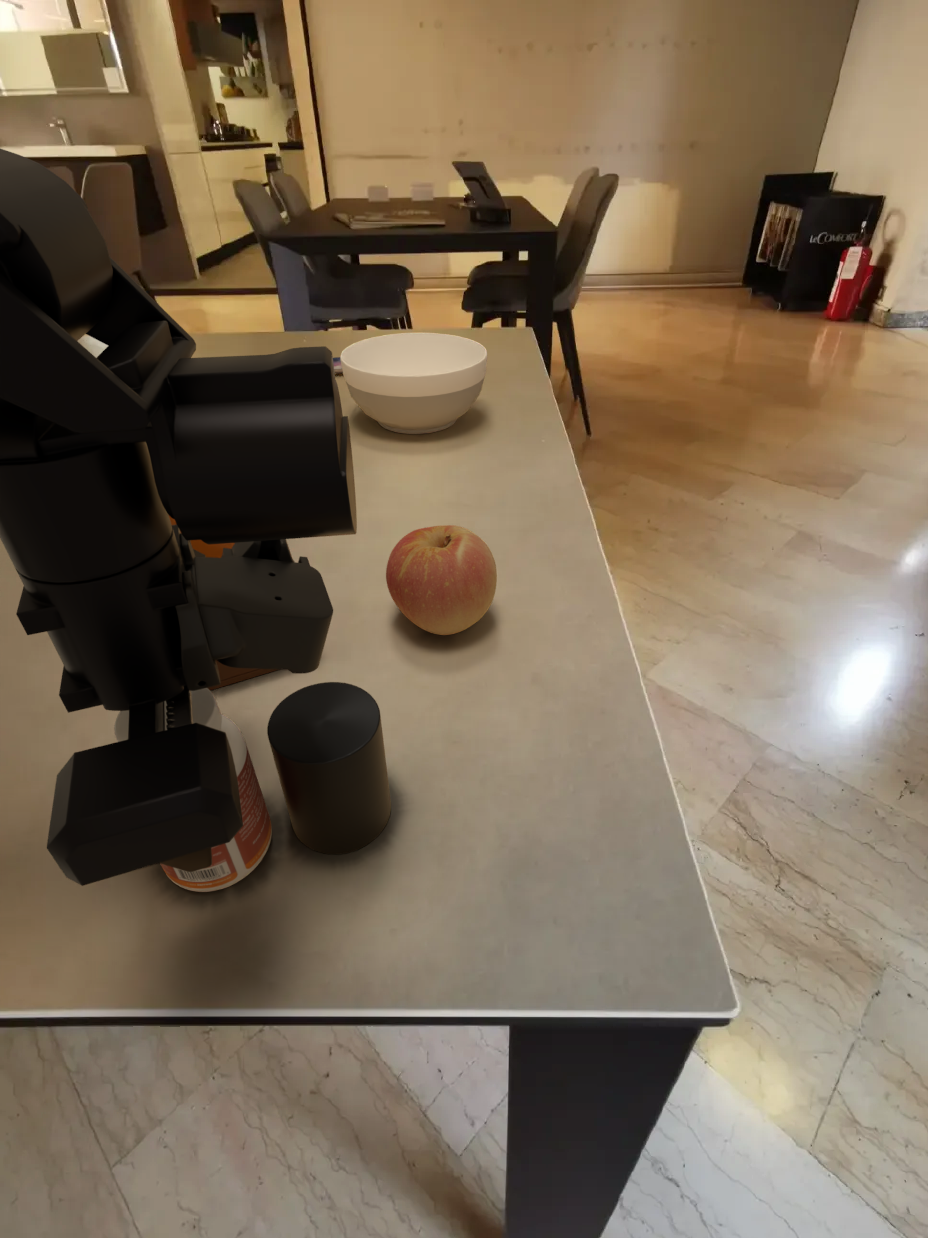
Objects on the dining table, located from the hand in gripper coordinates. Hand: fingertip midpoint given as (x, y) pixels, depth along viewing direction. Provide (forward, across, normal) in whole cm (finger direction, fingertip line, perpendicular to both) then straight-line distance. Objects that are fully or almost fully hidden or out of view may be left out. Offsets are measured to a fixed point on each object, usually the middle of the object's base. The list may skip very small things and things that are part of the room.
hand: (196, 793), depth 36 cm
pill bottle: (+5, 0, 0) cm, 5 cm away
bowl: (+5, +59, -30) cm, 67 cm away
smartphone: (+5, +84, -23) cm, 88 cm away
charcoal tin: (+5, 0, -7) cm, 9 cm away
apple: (+5, +16, -19) cm, 26 cm away
